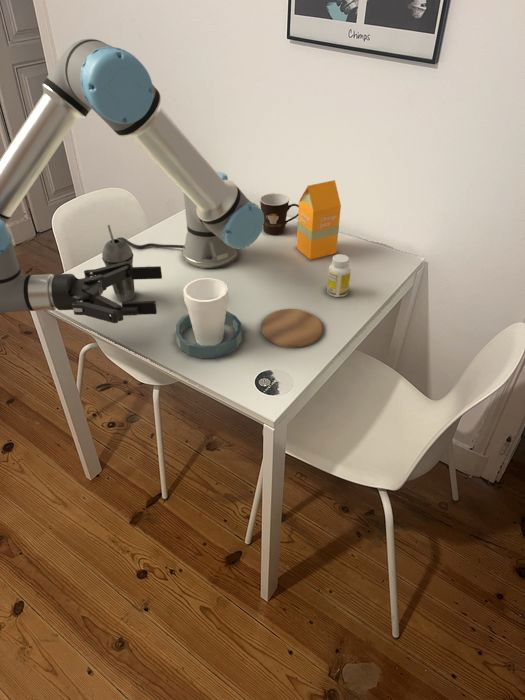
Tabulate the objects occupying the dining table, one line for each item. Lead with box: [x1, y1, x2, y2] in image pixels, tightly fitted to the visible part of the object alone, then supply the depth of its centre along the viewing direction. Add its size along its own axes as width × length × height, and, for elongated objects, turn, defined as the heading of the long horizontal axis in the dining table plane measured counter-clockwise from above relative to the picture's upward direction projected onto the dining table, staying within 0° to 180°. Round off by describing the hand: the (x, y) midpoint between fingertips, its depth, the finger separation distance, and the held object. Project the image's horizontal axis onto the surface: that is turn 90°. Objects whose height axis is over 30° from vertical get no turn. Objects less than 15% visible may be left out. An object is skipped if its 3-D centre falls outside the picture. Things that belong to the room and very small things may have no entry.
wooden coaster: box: [261, 308, 323, 349], centre depth 123 cm, size 14×14×1 cm
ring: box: [175, 310, 243, 360], centre depth 119 cm, size 15×15×3 cm
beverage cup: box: [101, 224, 135, 302], centre depth 127 cm, size 7×7×20 cm
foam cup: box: [182, 277, 229, 346], centre depth 116 cm, size 10×9×13 cm
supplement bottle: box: [326, 253, 352, 298], centre depth 132 cm, size 5×5×10 cm
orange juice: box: [296, 179, 342, 261], centre depth 146 cm, size 8×9×20 cm
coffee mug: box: [259, 192, 299, 236], centre depth 158 cm, size 12×9×10 cm
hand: (158, 289), depth 111 cm, fingers open, 13 cm apart
